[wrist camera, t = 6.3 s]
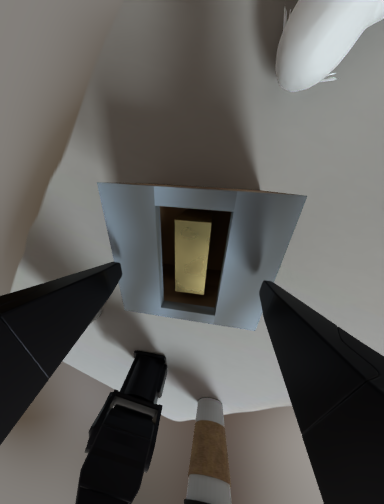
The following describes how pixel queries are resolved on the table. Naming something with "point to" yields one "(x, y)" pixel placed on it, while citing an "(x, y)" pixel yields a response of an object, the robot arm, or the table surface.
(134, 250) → the box
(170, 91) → the table surface
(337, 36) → the white animal skull
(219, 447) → the coffee cup
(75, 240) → the table surface
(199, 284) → the block
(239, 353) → the table surface
